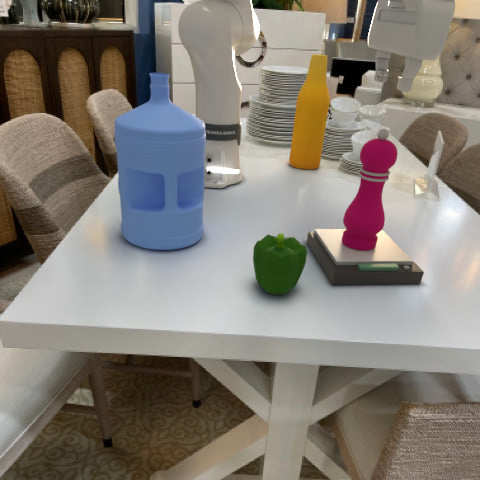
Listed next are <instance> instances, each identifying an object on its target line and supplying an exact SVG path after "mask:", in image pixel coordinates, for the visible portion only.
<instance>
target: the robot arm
mask: <svg viewBox="0 0 480 480" xmlns="http://www.w3.org/2000/svg"><path fill="white" fill-rule="evenodd" d="M455 10H456V1H455V0H377V3H376V6H375V8H374V12H373V16H372V20H371V24H370V26H369V27H370V28H369V32H368V36H367V46H368V48H370V49H374V50H376V52H375V55H374V56H375V58H374V59H375V60H374V61H375V72H374V77H373V80H374V81H375V82H376V83H377V82H378V83H386V82H387V81H388V77H389V73H390V71H389V70H388V69H389V59H391V56H392V54H395V55H398V56H402V57H405V59H404V63H403V64H404V65H403V66H404V68H403V71H402V74H401V76H398V78H397V83H396V87H395V89H396V90H397V91H399V92H403V93H405V92H406V93H408V92H410V91H412V87H413V83H414V80H415V79H416V77H417V75H418V73H419V71H420V70H421V68H422V65H423V62H424V61H436V60H437V59H438V58H439V57H440V55H441V53H442V52H443V50H444V48H445V44H446V41H447V39H448V35H449V33H450V29H451V26H452V22H453V18H454V16H455ZM177 30H178V36H179V40H180V43H181V45H182V46H183V48H184V49H185V50H186V52H187V54H188V56H189V60H190V64H191V68H192V73H193V77H194V85H195V117H197V118H199V119H200V120H202V121H203V122H204V124H205V134H206V148H205V162H204V188H212V189H223V188H225V187H227V186H230V185H235V184H238V183H240V182H241V181H242V180H243V174H242V170H241V168H242V167H241V161H240V160H241V159H240V145H241V142H242V122H241V109H242V108H241V107H242V93H243V89H242V85H241V83H240V81H239V78H238V76H237V71H236V65H235V57H238V56H241V55H244V54H245V53H247V52H248V51H249V50H251V49H252V48H253V47H254V46H255V45H256V44H257V41H258V39H259V35H260V23H259V20H258V17H257V15H256V13H255V10H254V8H253V3H252V0H198V1H195V2H193V3H190V4H188V5H187V6H186V7H185V8H184V9H183V10H182V12H181V14H180V16H179V19H178V25H177Z"/></svg>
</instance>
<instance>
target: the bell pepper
mask: <svg viewBox="0 0 480 480" xmlns="http://www.w3.org/2000/svg"><path fill="white" fill-rule="evenodd" d="M307 249H308V248H307V247H306V245H305V244H302V243H301V242H300V241H299V240H298V239H296V237H294V236H286V237H285V234H284V233H282V232H279V233H278V234H277V235H276V236H274V235H272V234H266V235H265V236H264V237H263V238H262V239H259V240H257V241H256V242H255V244H254V246H253V254H252V262H253V269H254V270H253V271H254V275H255V280H256V282H257V284H258V286H259V287H261V288H262V290H264V291H265V292H266V293H267V294H271V295H274V296H277V295H278V296H283V295H285V294H287V293H289V292H290V291H291V290H292V289H294V288H295V287H296V286H297V284H298V282H299V280H300V278H301V276H302V274H303V271H304V268H305V266H306V263H307V258H308V250H307Z"/></svg>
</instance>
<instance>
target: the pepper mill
mask: <svg viewBox="0 0 480 480" xmlns="http://www.w3.org/2000/svg"><path fill="white" fill-rule="evenodd" d="M376 136H377V137H375V138H372V139H369V140H367V141H366V142H365V143H364V145H363V146H362V147H361V149H360V153H359V160H360V163H361V165H362V166H361V167H360V168H359V173H358V176H359V178H360V180H359V181H360V183H359V186H358V190H357V192H356V195H355V196H354V198H353V200H352V201H351V202H350V204H349V205H348V207H347V208H346V210H345V212H344V214H343V219H342V222H343V225H344V228H345V229H346V230H345V231H344V232H343V236H342V242H343V244H344V245H345V246H347V247H349V248H352V249H356V250H372V249H374V248H375V247H376V244H377V240H378V237H377V235H376V234H377V233H379V232H380V231H381V230H383V229H384V226H385V220H386V218H385V216H386V215H385V210H384V204H383V191H384V187H385V184H386V182H387V181H389V179H390V175H391V171H390V168H392V167H393V166H395V164H396V162H397V159H398V149H397V146H396V144H395V143H393V141H391V140H389V139H388V138H389V136H390V132H389V130H388V129H386V128H382V129H379V130H378V132H377V135H376Z"/></svg>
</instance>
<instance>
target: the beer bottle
mask: <svg viewBox="0 0 480 480" xmlns="http://www.w3.org/2000/svg"><path fill="white" fill-rule="evenodd" d="M310 56H311V57H310V61H309V65H308V70H307V74H306V78H305V80H304V83H303V85H302V86H301V87H300V90H299V92H298V94H297V98H296V104H295V112H294V119H293V127H292V128H293V129H292V136H291V145H290V151H289V157H288V163H289V165H290V166H291V167H292V168H295V169H299V170H305V171H306V170H307V171H309V170H317V169H318V168H319V167H320V165H321V159H322V154H323V153H322V152H323V146H324V140H325V133H326V127H327V122H328V121H327V120H328V114H329V108H330V103H331V102H330V99H331V98H330V92H329V88H328V85H327V74H328V73H327V72H328V55H326V54H317V53H313V54H311V55H310Z"/></svg>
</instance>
